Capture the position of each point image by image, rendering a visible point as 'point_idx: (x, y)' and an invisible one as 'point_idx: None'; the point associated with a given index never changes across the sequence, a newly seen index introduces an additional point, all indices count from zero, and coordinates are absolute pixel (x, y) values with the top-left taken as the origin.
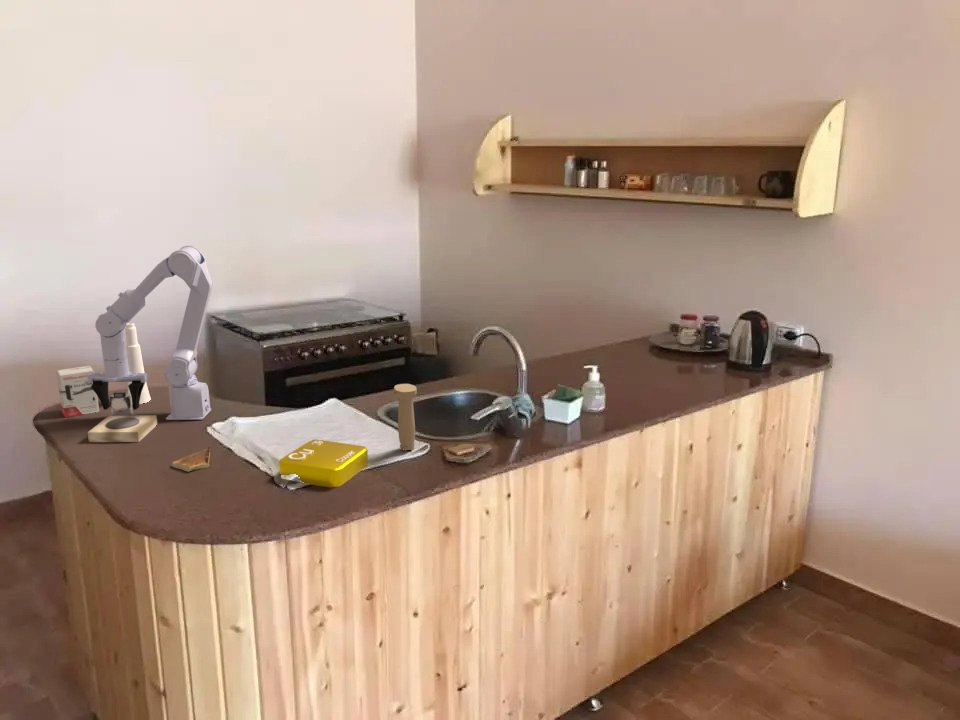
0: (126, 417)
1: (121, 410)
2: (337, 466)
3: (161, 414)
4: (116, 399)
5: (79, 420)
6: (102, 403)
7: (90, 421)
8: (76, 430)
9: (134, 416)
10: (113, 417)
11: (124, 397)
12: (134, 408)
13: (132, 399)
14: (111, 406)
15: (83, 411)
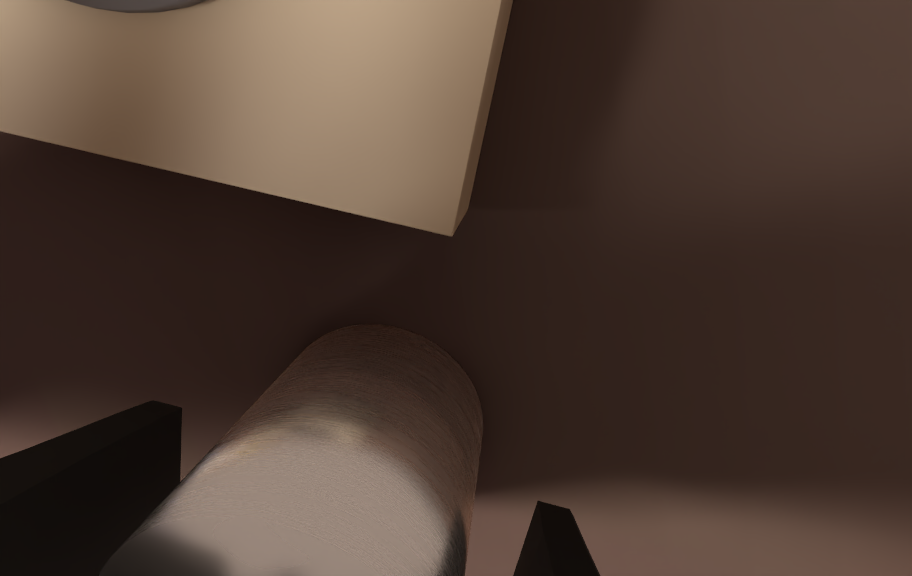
0: (117, 4)
1: (309, 386)
2: None
3: (41, 414)
4: (278, 516)
5: (849, 469)
6: (585, 574)
7: (719, 402)
8: (891, 92)
9: (55, 98)
10: (360, 126)
11: (151, 568)
12: (152, 406)
13: (25, 482)
14: (443, 484)
15: None
